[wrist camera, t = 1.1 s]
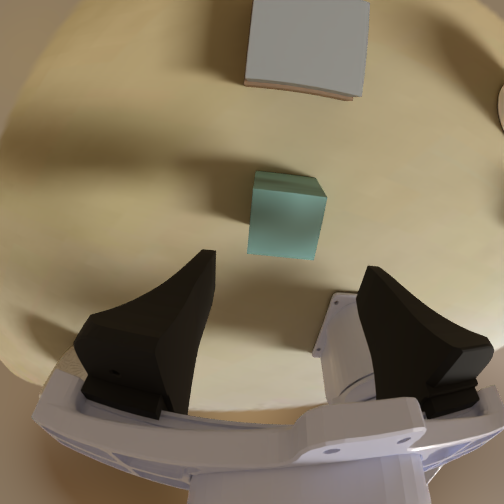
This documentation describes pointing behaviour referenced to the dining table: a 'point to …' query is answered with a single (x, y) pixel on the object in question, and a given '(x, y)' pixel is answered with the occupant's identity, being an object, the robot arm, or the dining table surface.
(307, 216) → the teal block
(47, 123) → the dining table surface
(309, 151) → the dining table surface
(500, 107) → the can
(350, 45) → the tower top
